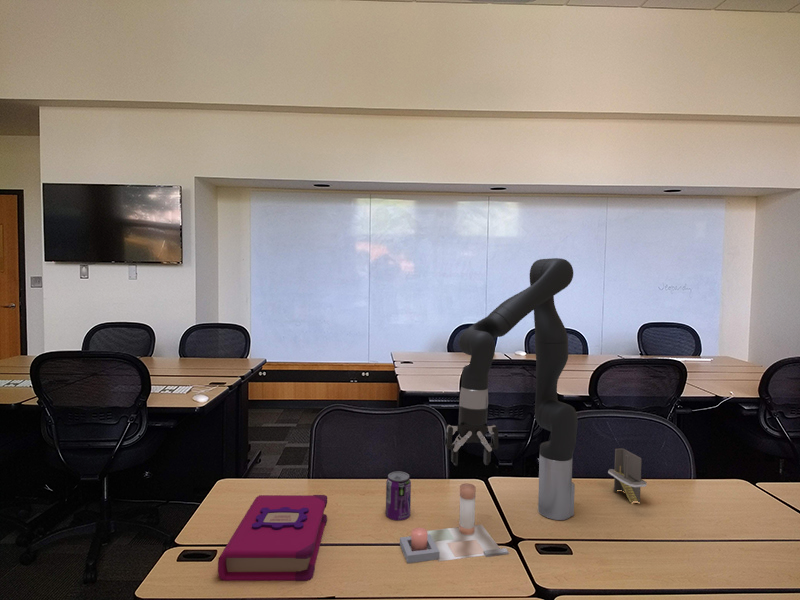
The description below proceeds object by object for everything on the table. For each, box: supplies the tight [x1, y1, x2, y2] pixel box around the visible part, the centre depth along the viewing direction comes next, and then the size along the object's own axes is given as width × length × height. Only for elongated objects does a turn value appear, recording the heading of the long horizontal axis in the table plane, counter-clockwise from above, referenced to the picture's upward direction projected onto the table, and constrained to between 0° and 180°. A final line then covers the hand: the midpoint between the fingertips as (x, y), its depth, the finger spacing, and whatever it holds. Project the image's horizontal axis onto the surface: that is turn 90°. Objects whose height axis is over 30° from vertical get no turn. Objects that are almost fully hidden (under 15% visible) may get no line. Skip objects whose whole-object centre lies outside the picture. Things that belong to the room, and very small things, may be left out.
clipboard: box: [427, 524, 510, 562], centre depth 119 cm, size 20×16×1 cm
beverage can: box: [385, 471, 412, 521], centre depth 132 cm, size 7×7×12 cm
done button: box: [410, 527, 428, 551], centre depth 114 cm, size 4×4×4 cm
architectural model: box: [607, 448, 648, 504], centre depth 146 cm, size 20×25×15 cm
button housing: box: [399, 534, 440, 564], centre depth 114 cm, size 8×8×2 cm
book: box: [217, 494, 328, 582], centre depth 117 cm, size 21×28×8 cm
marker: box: [458, 482, 477, 536], centre depth 123 cm, size 4×4×12 cm
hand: (470, 464), depth 123 cm, fingers open, 8 cm apart
